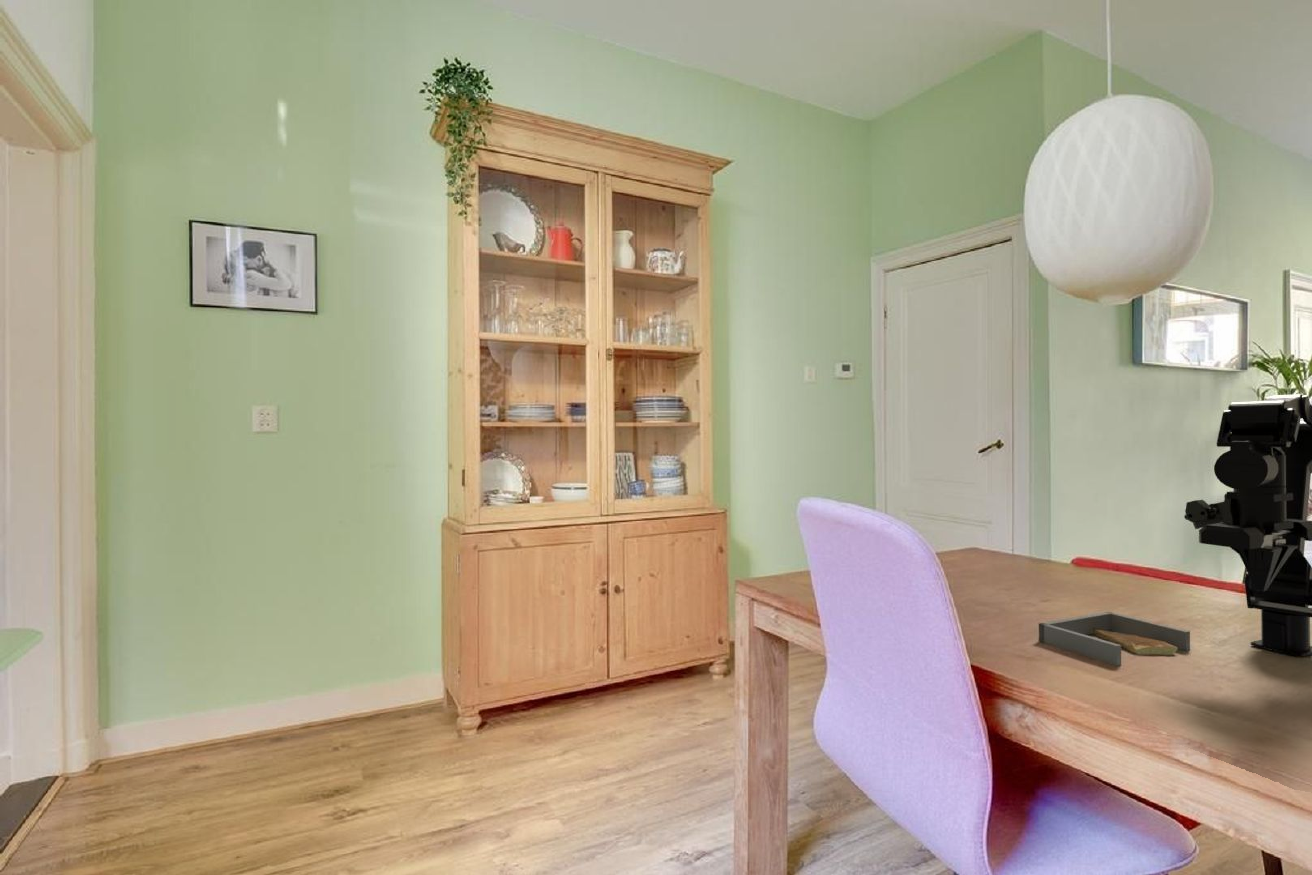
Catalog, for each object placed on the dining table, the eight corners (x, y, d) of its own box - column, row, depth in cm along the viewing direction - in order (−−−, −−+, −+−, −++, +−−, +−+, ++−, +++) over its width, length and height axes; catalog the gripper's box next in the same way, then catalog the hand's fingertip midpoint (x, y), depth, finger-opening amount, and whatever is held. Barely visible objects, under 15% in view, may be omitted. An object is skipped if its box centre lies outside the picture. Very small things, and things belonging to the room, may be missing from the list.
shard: (1092, 636, 115) (1092, 626, 115) (1137, 636, 114) (1137, 626, 114) (1134, 657, 104) (1134, 646, 104) (1184, 658, 103) (1184, 646, 103)
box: (1108, 628, 118) (1108, 611, 118) (1190, 649, 106) (1189, 631, 106) (1038, 640, 111) (1038, 623, 111) (1116, 665, 99) (1116, 645, 99)
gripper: (1232, 479, 107) (1233, 574, 107) (1159, 484, 100) (1160, 585, 100) (1321, 484, 97) (1322, 588, 97) (1246, 490, 90) (1248, 602, 90)
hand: (1260, 590), depth 96 cm, fingers closed
